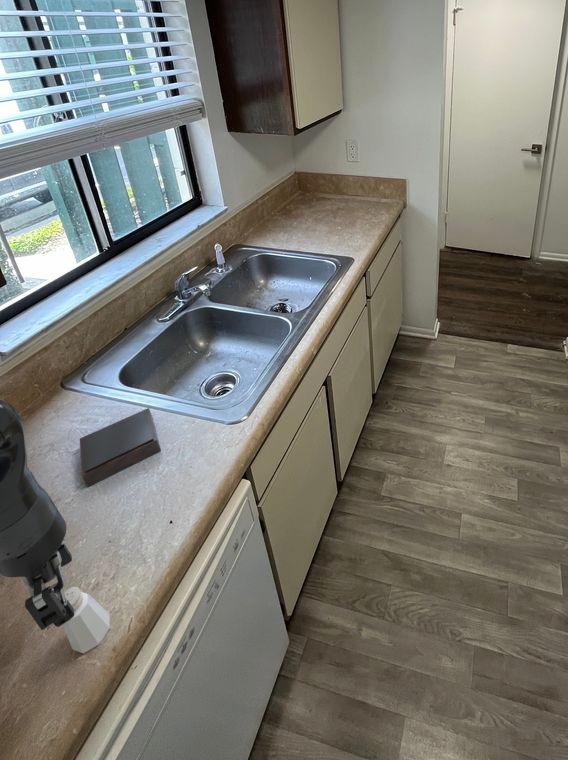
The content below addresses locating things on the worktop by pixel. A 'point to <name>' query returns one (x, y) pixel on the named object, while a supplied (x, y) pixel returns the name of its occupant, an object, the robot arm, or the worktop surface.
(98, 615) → the pepper shaker
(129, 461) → the wedge
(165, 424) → the worktop surface
